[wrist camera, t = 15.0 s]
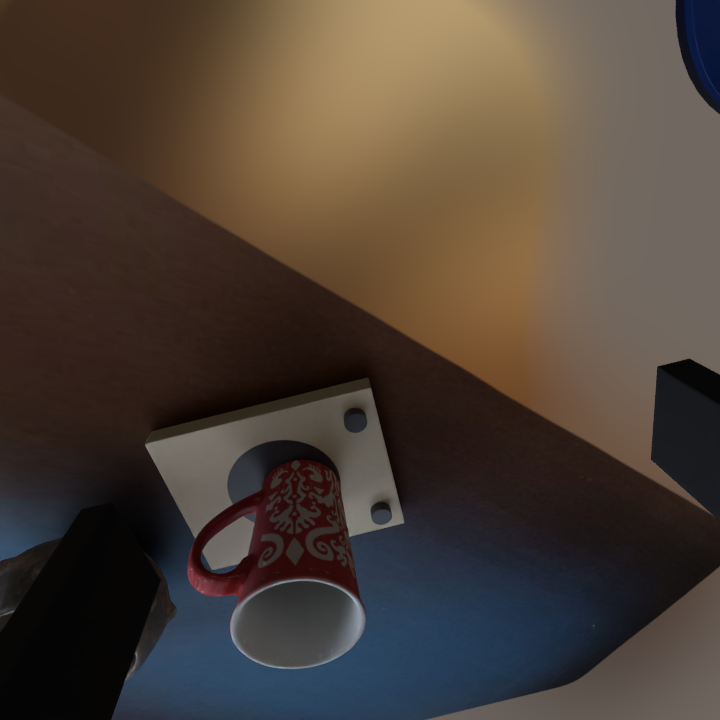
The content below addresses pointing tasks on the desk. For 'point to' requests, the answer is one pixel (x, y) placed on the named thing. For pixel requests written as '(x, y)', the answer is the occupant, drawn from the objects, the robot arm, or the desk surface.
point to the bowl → (16, 575)
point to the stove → (278, 461)
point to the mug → (289, 571)
